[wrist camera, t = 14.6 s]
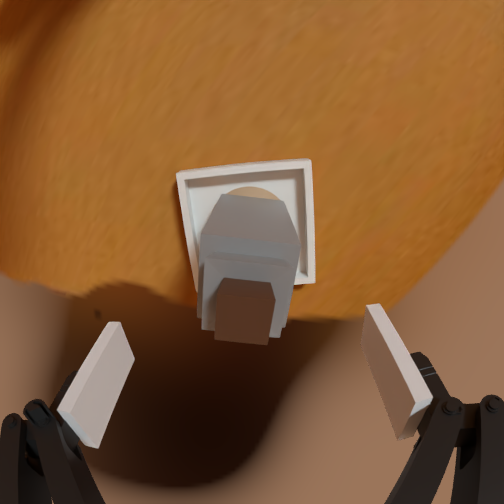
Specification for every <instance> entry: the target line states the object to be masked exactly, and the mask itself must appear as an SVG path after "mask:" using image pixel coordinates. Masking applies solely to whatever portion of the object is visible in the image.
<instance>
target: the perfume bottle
mask: <svg viewBox="0 0 504 504" xmlns="http://www.w3.org/2000/svg"><path fill="white" fill-rule="evenodd" d="M300 250H301V243H300V240H299V238H298V235H297V232H296V230H295V227H294V225H293V222H292V220H291V217H290V215H289V212H288V210H287V208H286V205H285V203H284V201H281V200H273V199H265V198H257V197H248V196H239V195H230V194H221V196H220V198H219V200H218V202H217V204H216V205H215V207H214V209H213V211H212V213H211V215H210V217H209V219H208V220H207V222H206V224H205V226H204V228H203V230H202V232H201V236H200V253H199V273H198V298H197V318H202V330H210V331H215V334H214V339H215V340H223V341H232V342H241V343H251V344H263V345H268V339H269V337H280V334H281V329H282V327H285V325H286V320H287V315H288V311H289V306H290V301H291V296H292V291H293V286H294V281H295V276H296V271H297V266H298V261H299V256H300Z"/></svg>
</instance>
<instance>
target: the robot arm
mask: <svg viewBox="0 0 504 504" xmlns="http://www.w3.org/2000/svg"><path fill="white" fill-rule="evenodd" d="M361 348H362V350H363V352H364V355H365V357H366V359H367V362H368V364H369V367H370V369H371V372H372V374H373V377H374V379H375V382H376V384H377V387H378V389H379V392H380V395H381V397H382V400H383V402H384V405H385V408H386V410H387V413H388V416H389V419H390V421H391V424H392V427H393V429H394V432H395V435H396V438H397V440H402V439H406V438H409V437H412V436H414V434H415V432H416V430H418V432H419V434H420V437H419V439H418V440H417V442H416V444H415V445H414V449H413V451H412V454H411V456H410V458H409V460H408V462H407V464H406V466H405V468H404V470H403V471H402V473H401V475H400V477H399V479H398V481H397V483H396V484H395V486H394V488H393V490H392V491H391V493H390V495H389V497H388V498H387V500H386V502H385V503H384V504H431V503H432V501H433V498H434V496H435V494H436V492H437V489H438V487H439V485H440V483H441V480H442V478H443V475H444V473H445V470H446V467H447V465H448V463H449V460H450V457H451V454H452V452H453V449H454V447H457V454H456V455H457V456H456V466H455V475H454V482H453V490H452V496H451V502H450V504H504V401H503V400H502V399H501V398H500V397H498V396H496V395H487V396H485V397H484V398H483V399H482V401H481V402H480V403H475V404H463V403H462V402H461V401H460V400H459V399H457V398H455V397H451V396H450V395H449V394H448V392H447V390H446V388H445V386H444V384H443V383H442V381H441V379H440V378H439V376H438V374H436V371H435V369H434V367H432V364H431V363H430V361H429V359H428V358H427V357H426V356H425V355H423V354H422V353H421V352H416V353H412V354H409V352H408V351H407V349H406V347H405V345H404V344H403V342H402V340H401V338H400V337H399V335H398V333H397V332H396V330H395V328H394V326H393V325H392V323H391V321H390V320H389V318H388V316H387V315H386V313H385V312H384V310H383V308H382V307H381V305H380V303H379V304H372V305H366V310H365V318H364V326H363V333H362V340H361ZM134 359H135V358H134V356H133V353H132V351H131V348H130V346H129V343H128V341H127V339H126V336H125V333H124V331H123V328H122V325H121V323H120V322H108V324H107V325H106V327H105V329H104V330H103V332H102V333H101V335H100V336H99V338H98V340H97V341H96V343H95V344H94V346H93V348H92V349H91V351H90V353H89V354H88V356H87V358H86V359H85V361H84V363H83V365H82V366H81V368H80V369H79V371H73V372H72V373H71V374H70V375H69V376H68V377H67V378H66V380H65V382H64V384H63V385H62V387H61V389H60V391H59V392H58V394H57V396H56V398H55V399H54V401H53V403H52V404H51V406H50V408H48V407H47V405H46V404H45V402H44V401H42V400H40V399H35V400H32V401H30V402H29V403H28V404H27V405H26V406H25V408H24V411H23V414H24V415H25V417H26V418H27V419H28V420H23V419H22V418H21V417H20V416H19V415H18V414H16V413H12V414H9V415H8V416H6V417H5V419H4V420H3V423H2V428H1V435H0V504H52V500H53V503H54V504H105V502H104V500H103V498H102V496H101V494H100V492H99V490H98V488H97V486H96V484H95V481H94V479H93V477H92V475H91V473H90V470H89V468H88V466H87V463H86V461H85V458H84V456H83V453H82V451H81V448H80V447H79V445H78V441H79V439H80V440H81V441H82V442H83V443H84V445H86V446H90V447H94V448H99V445H100V442H101V440H102V437H103V435H104V432H105V429H106V427H107V424H108V422H109V419H110V417H111V414H112V412H113V409H114V407H115V404H116V402H117V399H118V397H119V395H120V392H121V389H122V388H123V385H124V383H125V380H126V378H127V376H128V373H129V371H130V369H131V366H132V364H133V362H134ZM51 497H52V498H51Z"/></svg>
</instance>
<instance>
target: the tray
mask: <svg viewBox="0 0 504 504" xmlns="http://www.w3.org/2000/svg"><path fill="white" fill-rule="evenodd" d="M176 178H177V185H178V192H179V198H180V205H181V211H182V217H183V223H184V229H185V235H186V241H187V246H188V252H189V257H190V263H191V268H192V273H193V279H194V284H195V289H196V292H198V273H199V253H200V236H201V232H202V230H203V228H204V226H205V224H206V222H207V220H208V219H209V217H210V215H211V213H212V211H213V209H214V207H215V205H216V204H217V202H218V200H219V198H220V196H221V194H230V195H239V196H248V197H257V198H265V199H273V200H281V201H284V203H285V205H286V208H287V210H288V212H289V215H290V217H291V220H292V222H293V225H294V227H295V230H296V232H297V235H298V238H299V240H300V243H301V250H300V256H299V261H298V266H297V271H296V276H295V281H294V285H298V284H308V283H315V235H314V204H313V183H312V165H311V160H310V159H308V158H306V159H289V160H274V161H262V162H250V163H240V164H230V165H221V166H213V167H204V168H197V169H189V170H182V171H180V172H178V173H176Z"/></svg>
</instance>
